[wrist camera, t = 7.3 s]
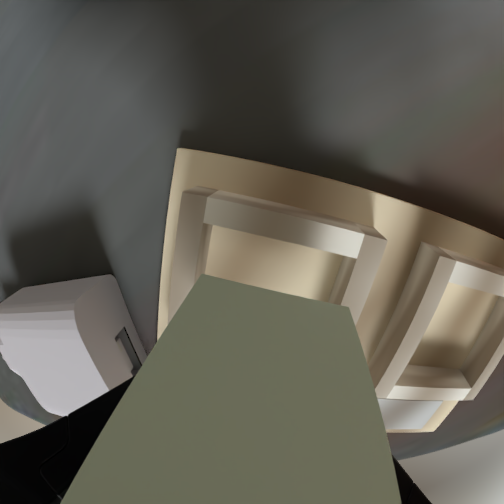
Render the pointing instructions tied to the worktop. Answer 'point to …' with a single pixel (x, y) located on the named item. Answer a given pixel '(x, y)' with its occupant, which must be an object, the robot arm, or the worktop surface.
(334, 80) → the worktop surface
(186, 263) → the socket board
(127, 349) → the charger
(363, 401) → the plug
